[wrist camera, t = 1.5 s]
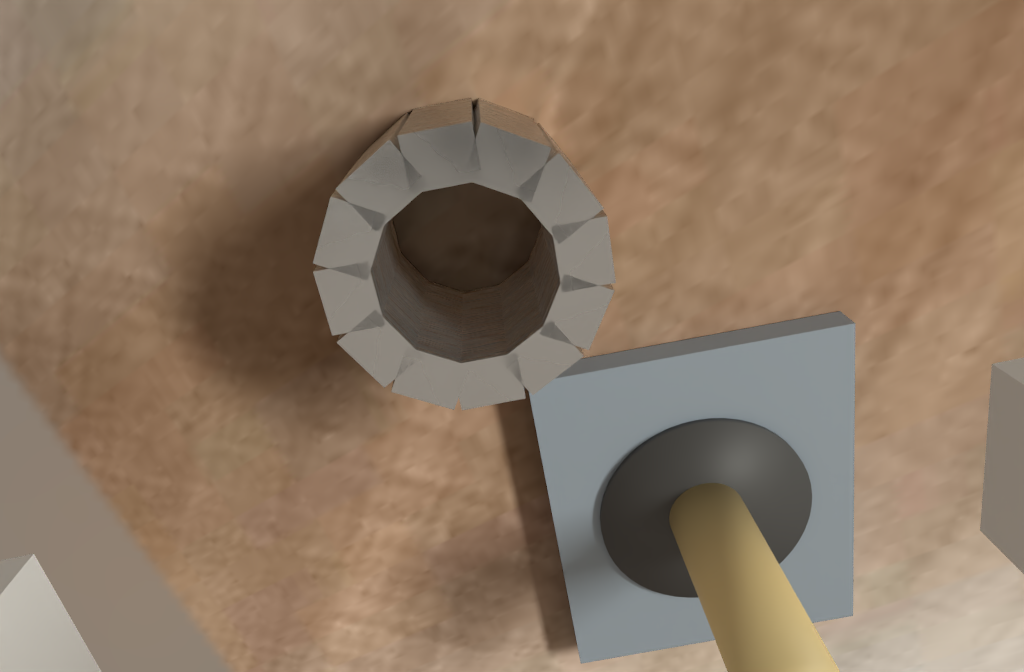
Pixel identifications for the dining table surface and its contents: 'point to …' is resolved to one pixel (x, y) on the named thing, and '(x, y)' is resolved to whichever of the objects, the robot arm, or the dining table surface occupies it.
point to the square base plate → (707, 493)
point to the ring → (445, 311)
